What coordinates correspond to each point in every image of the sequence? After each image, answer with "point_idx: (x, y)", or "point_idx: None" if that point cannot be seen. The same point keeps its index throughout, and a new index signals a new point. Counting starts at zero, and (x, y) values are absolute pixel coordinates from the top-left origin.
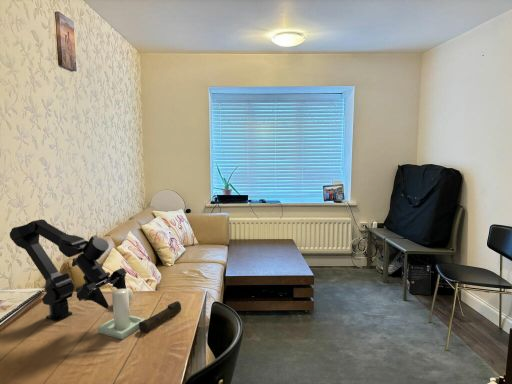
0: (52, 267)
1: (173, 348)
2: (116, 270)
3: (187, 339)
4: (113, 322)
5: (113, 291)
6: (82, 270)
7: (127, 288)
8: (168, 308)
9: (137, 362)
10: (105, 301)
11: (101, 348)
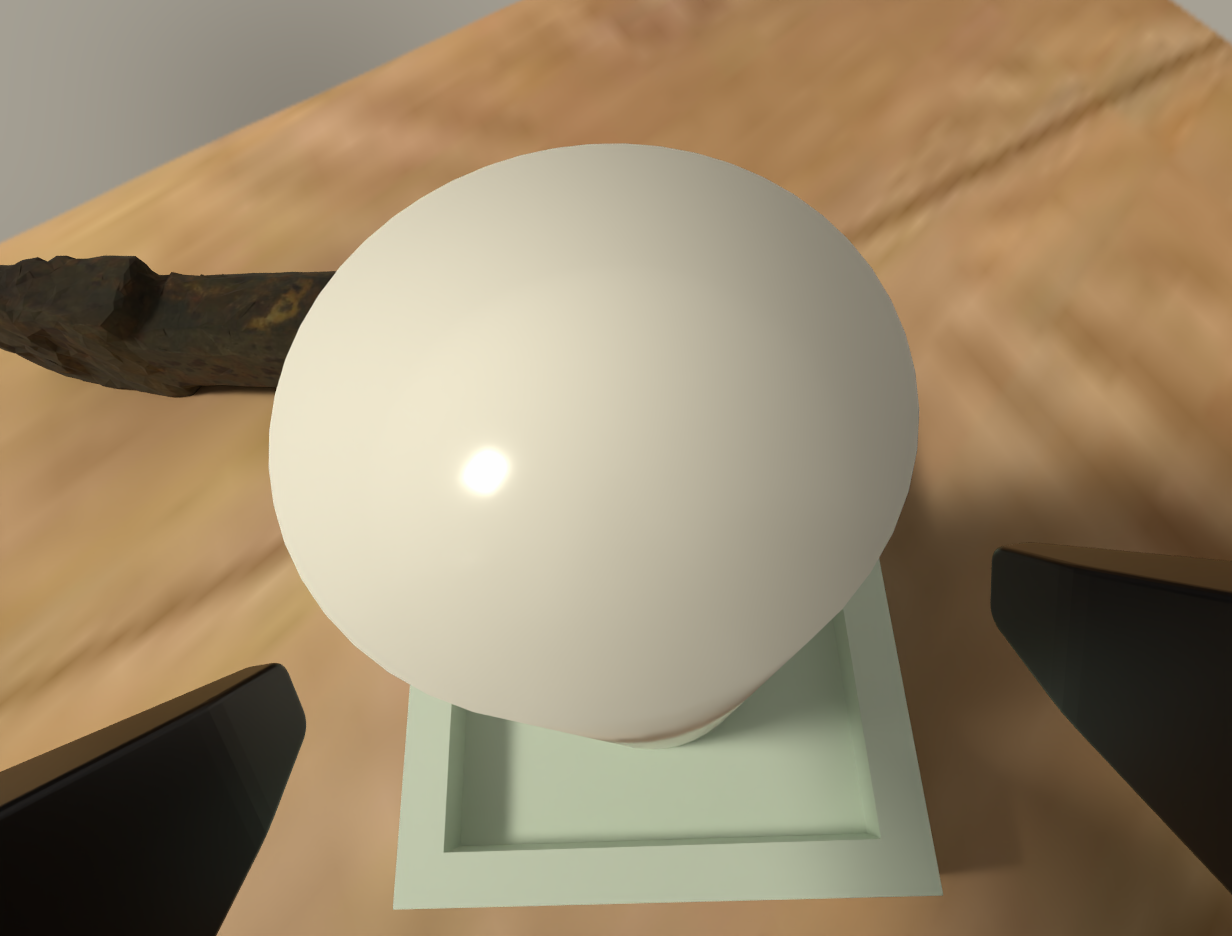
0: None
1: (683, 8)
2: None
3: (530, 12)
4: (651, 841)
5: (712, 668)
6: None
7: None
8: (154, 300)
9: (981, 68)
10: (1173, 567)
11: (1090, 482)
